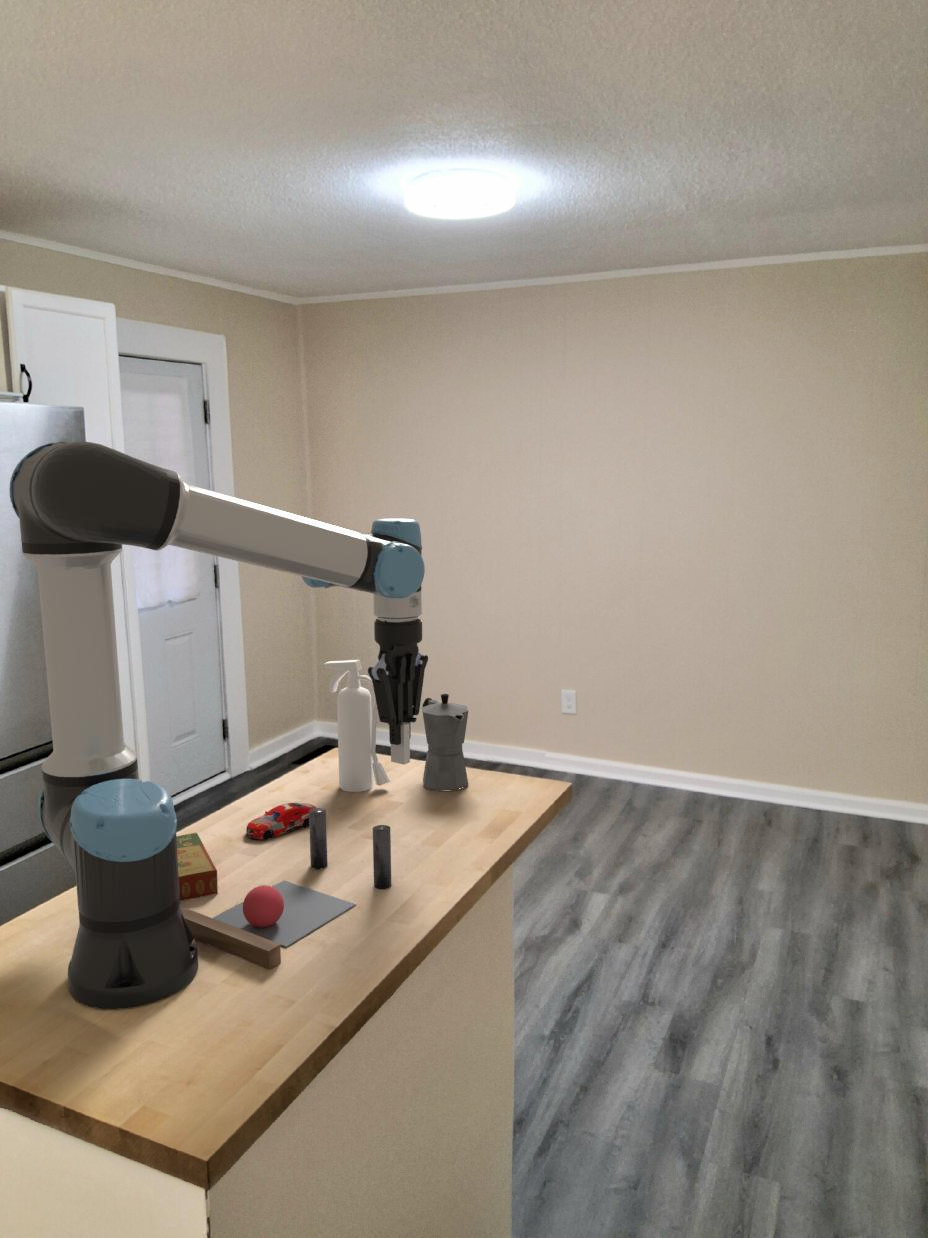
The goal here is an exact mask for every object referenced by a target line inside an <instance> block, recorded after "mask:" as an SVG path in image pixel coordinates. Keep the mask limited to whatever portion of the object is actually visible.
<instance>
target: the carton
mask: <svg viewBox="0 0 928 1238" xmlns="http://www.w3.org/2000/svg"><path fill="white" fill-rule="evenodd" d="M176 839H177V857H178V875H179V895H180V902H182V901H189V900H192V899H199V898H203V897H204V898H205V897H209V896H213V895H218V890H219V889H218V888H219V887H218V885H219V884H218V869H217V867H216V866H215V864H214V862H213V860H212V859H211V856H210V854H209V853H208V851H207V849H206V847H205V845H204V843H203V841H202V840H201V837H200V836H199V834H198V833H197V832H193V833H192V832H191V833H186V834H181V835H176Z"/></svg>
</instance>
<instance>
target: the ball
mask: <svg viewBox="0 0 928 1238" xmlns="http://www.w3.org/2000/svg"><path fill="white" fill-rule="evenodd" d="M242 902H243V914H244V916H245V918H246V920H247V921H248V922H249V923H250V924H251V925H253V926H255V927H259V928H265V927H269V926H271V925H273V924H275V923H276V922H277V921H278V920H279V919H280V917H281V915H282V913H283V910H284V901H283V898H282V895H281V894H280V892H279V891H278V890H277V889H275V888H273V887H272V886H271V885H266V884H265V885H264V884H263V885H259V886H255V887H253V888H252V889H251V890H250V891H249V892H247V894H246V895H245V897H244V900H243V901H242Z"/></svg>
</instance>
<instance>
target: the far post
mask: <svg viewBox="0 0 928 1238" xmlns="http://www.w3.org/2000/svg"><path fill="white" fill-rule="evenodd" d="M308 828H309V852H310V855H309V856H310V857H309V858H310V868H311V869H313V870H324V869H326V868H327V867H328V866H329V865H328V864H329V862H328V840H327V839H328V837H327V836H328V835H327V834H328V832H327V811H326V809H325V808H323V807H316V808H314V809H311V810H309V827H308Z"/></svg>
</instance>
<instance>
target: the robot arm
mask: <svg viewBox="0 0 928 1238" xmlns="http://www.w3.org/2000/svg"><path fill="white" fill-rule="evenodd" d="M8 491H9V498H10V503H11V505H12V509H13V511H14V513H15V515H16V517H18V518H19V528H20V529H19V531H20V542H21V550H22V556H24V557H25V558H26V559H28V561H30V562H31V563H32V564H34V565H35V567H36V569H37V579H38V588H39V599H40V600H39V601H40V613H41V625H42V633H43V634H42V635H43V646H44V658H45V669H46V670H45V671H46V679H47V680H46V681H47V692H48V703H49V714H50V727H51V738H52V740H51V741H52V750H53V751H52V752H51V753H50V755H48V757H46V759H44V761H43V762H42V765H41V771H42V783H43V786H42V789H41V792H40V794H39V798H38V816H39V817H38V818H39V821H40V824H41V828H42V829H43V832H44V834H45V835H46V836H47V838H48V839H49V841H51V843H52V844H54V846H55V847H56V848H57V850H58V851H59V852H60V853H61V854H62V856H63V857H64V858H65V859H66V861H67V862H68V863H69V865H70V866H71V868H72V869H73V871H74V875H75V884H76V885H75V886H76V896H77V898H76V899H77V908H78V921H79V923H78V930H77V933H76V938H75V942H74V946H73V949H72V954H71V958H70V961H69V963H68V966H67V967H68V968H67V982H68V984H67V985H68V992H69V994H70V996H71V998H73V999H74V1001H76V1002H78V1003H79V1004H81V1005H84V1006H87V1007H90V1008H92V1009H93V1008H94V1009H101V1010H125V1009H126V1010H127V1009H133V1008H137V1007H142V1006H146V1005H149V1004H153V1003H156V1002H159V1001H161V1000H164V999H167V998H168V997H170V996H173V995H175V994H176V993H178V992H179V991H181V990H182V989H184V988H185V987H186V986H187V985H189V983H190V982H191V981H193V979H194V978H195V976H196V975H197V973H198V970H199V951H198V946H197V943H196V941H195V939H194V938H193V936H192V933H191V931H190V929H189V927H188V924H187V922H186V920H185V918H184V915H183V913H182V911H181V909H182V908H181V901H180V895H179V875H178V857H177V839H176V836H177V828H178V827H177V826H178V818H177V814H176V811H175V807H174V800H173V798H172V796H171V794H170V793H169V791H168V790H167V789H165V788H164V787H163V786H161V785H160V784H157V783H155V782H152V781H149V780H148V781H147V780H146V781H142V779H140V778H139V777H140V776H139V766H138V754H137V752H136V751H135V750H134V749H132V748H131V747H129V746H128V745H127V744H126V743H125V740H124V738H125V737H124V728H123V726H124V725H123V724H124V723H123V713H122V712H123V711H122V700H121V698H122V697H121V683H120V672H119V670H120V669H119V658H118V645H117V633H116V632H117V631H116V630H117V629H116V619H115V617H116V616H115V604H114V591H113V578H112V566H111V565H112V563H113V561H114V560H115V558H116V557H118V556H119V555H120V553H121V552H122V551H123V545H125V546H126V545H127V546H134V547H139V548H144V549H148V550H152V551H161V550H163V549H165V548H166V547H168V546H173V547H176V548H181V549H186V550H189V551H194V552H199V553H203V554H207V555H210V556H214V557H219V558H224V559H226V560H227V559H228V560H232V561H235V562H240V563H244V564H248V565H252V566H257V567H262V568H265V569H269V570H273V571H279V572H282V573H285V574H286V573H287V574H291V575H295V576H299V577H301V578H302V580H303V582H304V583H305V584H306V585H307V586H309V587H310V588H315V589H316V588H319V589H320V588H324V589H329V588H332V587H342V588H345V589H351V590H356V591H358V592H359V591H360V592H364V593H369V594H372V595H373V615H374V617H377V618H376V619H375V620H374V622H373V623H374V625H373V627H374V628H373V632H374V642H375V643H377V645H379V650H378V651H379V652H378V655H377V660H378V662H377V663H376V664H375V666H369V667H368V669H367V674H368V677H370V678H371V679H372V682H373V685H372V687H373V693H375V695H374V699H375V698H376V704H377V715H378V718H379V722H380V723H384V724H387V725H388V729H389V730H388V732H389V734H388V735H389V737H388V738H389V745H390V762H392V763H395V764H399V765H400V764H401V765H407V764H409V763H411V743H410V741H411V729H412V728H411V723H415V722H417V717H414V716H418V715H419V714H420V709H421V702H422V693H423V686H424V678H425V677H424V676H425V670H426V667H427V664H428V662H429V661H428V660H429V656H428V655H427V654H422V653H420V652H419V651H420V649H419V645H418V644H419V643H421V642H422V640H423V620H422V619H421V618H420V616H421V615H422V614H423V612H422V611H423V607H422V605H423V604H422V584H423V581H424V577H425V571H426V569H425V568H426V567H425V562H424V559H423V557H422V551H423V545H422V532H421V527H420V522H418V521H417V520H416V519H412V518H404V517H401V518H397V517H396V518H381V519H379V518H378V519H375V520H374V521H372V525H371V530H370V532H368V533H363V534H362V533H360V532H357V531H354V530H350V529H346V528H343V527H340V526H337V525H332V524H330V523H325V522H323V521H319V520H315V519H311V518H308V517H304V516H301V515H297V514H294V513H291V512H287V511H283V510H280V509H277V508H272V507H270V506H266V505H262V504H259V503H255V502H252V501H248V500H245V499H241V498H237V497H234V496H230V495H228V494H227V495H226V494H224V493H221V492H217V491H213V490H209V489H205V488H202V487H199V486H195V485H192V484H188V483H186V482H184V480H183V478H182V477H181V475H180V474H179V473H178V472H177V471H174V470H171V469H168V468H163V467H160V466H157V465H154V464H152V463H149V462H147V461H145V460H144V461H143V460H140V459H139V458H136V457H134V456H130V455H128V454H126V453H124V452H122V451H119V450H117V449H114V448H111V447H108V446H106V445H103V444H100V443H96V442H93V441H92V442H90V441H76V442H65V441H58V442H49V443H46V444H44V445H40V446H37V447H36V448H35V449H33V450H31V451H30V452H28V453H27V454H26V455H24V457H22V459H20V461H19V462H17V464H16V466H15V468H14V469H13V471H12V474H11V477H10V481H9V490H8Z"/></svg>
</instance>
